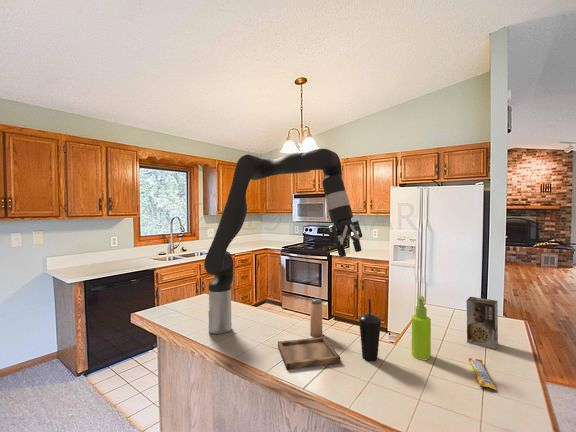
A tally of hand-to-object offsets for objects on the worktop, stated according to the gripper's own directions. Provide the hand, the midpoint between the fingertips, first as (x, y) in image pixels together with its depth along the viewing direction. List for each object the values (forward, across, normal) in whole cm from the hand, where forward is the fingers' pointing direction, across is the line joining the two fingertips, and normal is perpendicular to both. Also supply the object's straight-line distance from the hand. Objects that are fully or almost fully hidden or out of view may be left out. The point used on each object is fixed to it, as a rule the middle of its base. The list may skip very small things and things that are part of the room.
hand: (351, 254), depth 97 cm
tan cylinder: (+30, -3, -30) cm, 42 cm away
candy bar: (+44, -18, +21) cm, 53 cm away
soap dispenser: (+40, -17, +5) cm, 44 cm away
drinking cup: (+36, -3, -6) cm, 36 cm away
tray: (+31, +11, -21) cm, 39 cm away
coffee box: (+45, -43, +15) cm, 64 cm away
